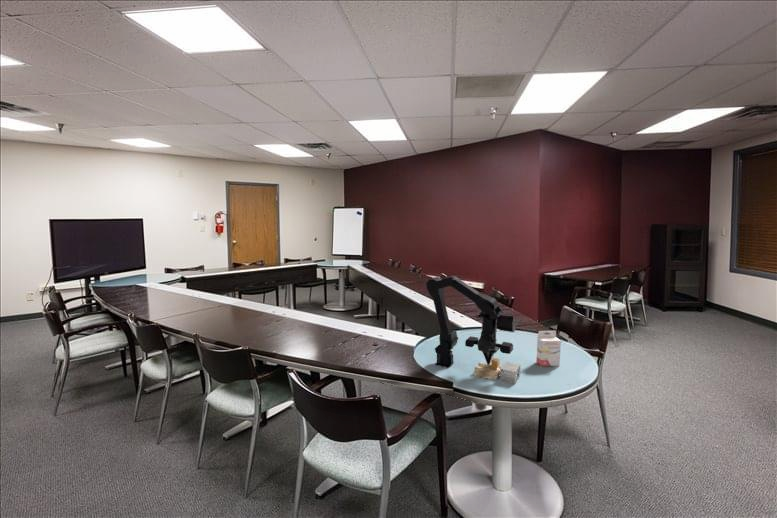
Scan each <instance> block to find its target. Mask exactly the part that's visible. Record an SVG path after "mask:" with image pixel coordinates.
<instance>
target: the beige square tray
mask: <svg viewBox="0 0 777 518" xmlns="http://www.w3.org/2000/svg"><path fill="white" fill-rule="evenodd" d="M499 368H502V366H501V365H499ZM473 375H474V377H477V376H479V377H478V378H482V377H483V379H486V378H488V379H487V380H491V379H492V380H491V381H495V380H496V381H497V380H498V379H499V378H500V376H499V374H498V370H493V369H491V363H490V364H489V365H488V364H487V362H481V361H479V362H478V366H477V365H475V366H474V372H473V373H472V376H473Z"/></svg>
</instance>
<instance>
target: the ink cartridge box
mask: <svg viewBox="0 0 777 518" xmlns="http://www.w3.org/2000/svg"><path fill="white" fill-rule="evenodd" d="M536 340H537V343H536V345H537V346H536V363H537V364H538V365H539V366H540V367H559V366H560V365H561V364H560V361H561V345H562V344H561V343H562V341H561V339H559V338H558V337H557V330H539V331H538V335H537V339H536Z"/></svg>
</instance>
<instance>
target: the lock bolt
mask: <svg viewBox="0 0 777 518" xmlns="http://www.w3.org/2000/svg"><path fill="white" fill-rule="evenodd" d="M490 364H491V369H493V370H498V374H499V375H500V373H501V368H502V367H501V368H499V366H500V358H497V357H492V360H491V362H490Z"/></svg>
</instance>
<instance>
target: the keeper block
mask: <svg viewBox="0 0 777 518" xmlns="http://www.w3.org/2000/svg"><path fill="white" fill-rule="evenodd" d="M520 377H521V364H520V363H515V362H509V361H505V362H504V363H503V365H502V366H501V373H500V376H499V378H500V380H502V381H501V382H505V381H506V382H505V383H509V382H511V383H510V384H514V383H515V384H514V385H516V384H517V382H518V381H519V378H520ZM517 380H518V381H517Z"/></svg>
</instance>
